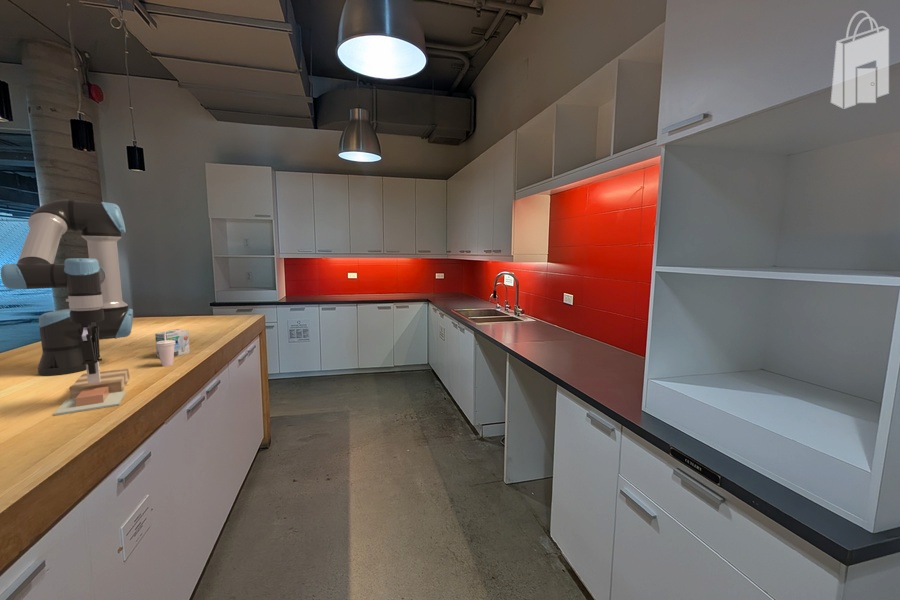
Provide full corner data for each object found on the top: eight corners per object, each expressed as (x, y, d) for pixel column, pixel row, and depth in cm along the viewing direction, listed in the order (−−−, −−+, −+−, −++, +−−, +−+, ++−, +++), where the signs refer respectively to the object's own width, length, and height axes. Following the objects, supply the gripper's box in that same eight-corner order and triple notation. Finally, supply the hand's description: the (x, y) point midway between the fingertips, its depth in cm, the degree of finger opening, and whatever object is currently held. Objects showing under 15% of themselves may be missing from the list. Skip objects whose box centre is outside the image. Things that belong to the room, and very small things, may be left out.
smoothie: (155, 368, 148) (153, 333, 147) (159, 363, 154) (156, 330, 152) (175, 366, 151) (173, 332, 150) (178, 361, 157) (176, 329, 155)
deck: (84, 384, 129) (82, 373, 129) (129, 379, 136) (128, 368, 135) (70, 400, 116) (69, 388, 115) (121, 393, 122) (120, 381, 122)
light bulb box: (168, 359, 161) (166, 334, 159) (156, 357, 162) (154, 333, 161) (190, 352, 171) (189, 329, 170) (178, 351, 173) (177, 328, 171)
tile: (83, 397, 117) (82, 389, 117) (108, 393, 120) (108, 386, 120) (76, 406, 110) (75, 398, 110) (103, 402, 114) (102, 394, 113)
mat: (66, 401, 115) (66, 399, 115) (125, 392, 123) (125, 390, 123) (53, 415, 105) (53, 413, 105) (119, 405, 113) (119, 403, 113)
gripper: (75, 306, 118) (83, 379, 121) (63, 312, 107) (72, 391, 110) (107, 305, 122) (114, 375, 125) (98, 310, 111) (106, 387, 114)
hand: (94, 382), depth 117 cm, fingers closed
